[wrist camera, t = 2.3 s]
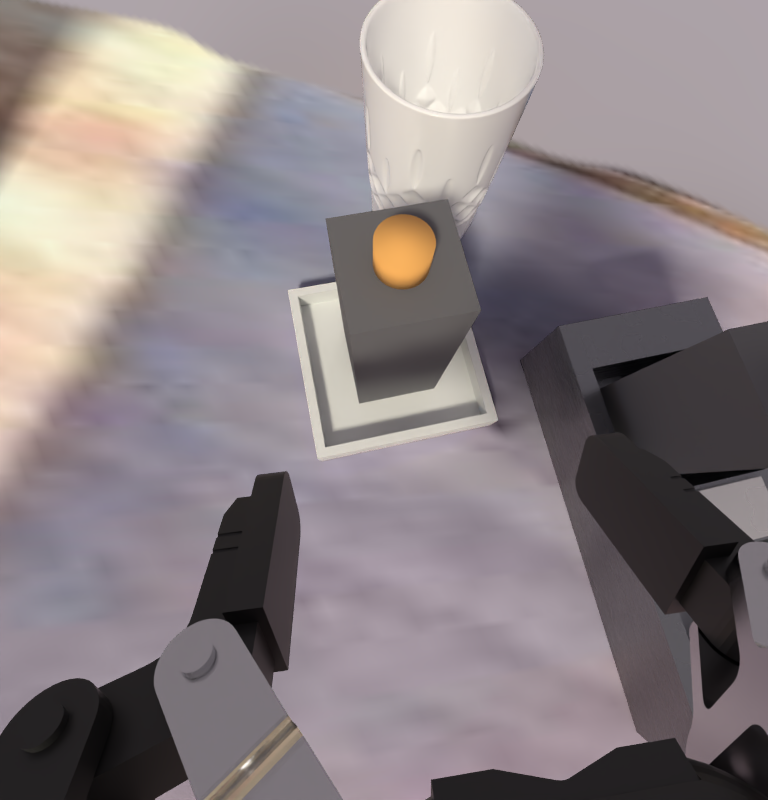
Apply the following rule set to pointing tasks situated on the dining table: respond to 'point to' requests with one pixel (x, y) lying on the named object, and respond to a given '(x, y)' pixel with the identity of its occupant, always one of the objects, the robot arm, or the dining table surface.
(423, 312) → the plug
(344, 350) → the tray
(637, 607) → the strip
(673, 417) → the twin plug
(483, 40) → the white cup
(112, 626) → the dining table surface
